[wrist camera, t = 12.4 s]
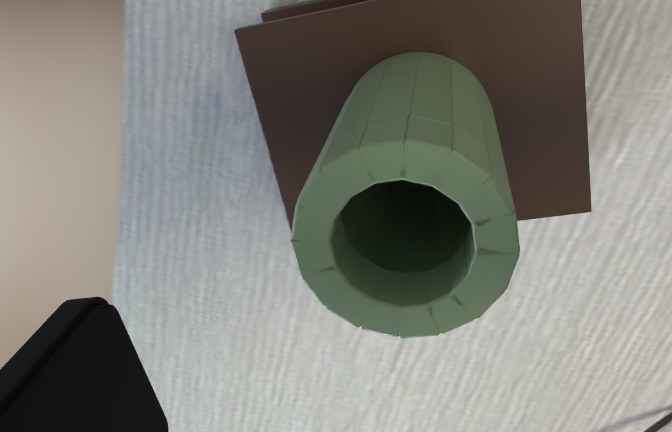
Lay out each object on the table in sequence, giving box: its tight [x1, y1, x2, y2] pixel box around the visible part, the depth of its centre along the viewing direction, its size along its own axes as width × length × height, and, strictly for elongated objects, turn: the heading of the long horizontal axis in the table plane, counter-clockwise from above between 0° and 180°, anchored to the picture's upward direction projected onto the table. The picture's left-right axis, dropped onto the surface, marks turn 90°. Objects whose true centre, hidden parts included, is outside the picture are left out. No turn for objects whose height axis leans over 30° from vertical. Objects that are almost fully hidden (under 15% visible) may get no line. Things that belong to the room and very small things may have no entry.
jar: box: [291, 52, 520, 338], centre depth 17 cm, size 5×5×8 cm
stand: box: [235, 0, 591, 231], centre depth 22 cm, size 8×10×4 cm
